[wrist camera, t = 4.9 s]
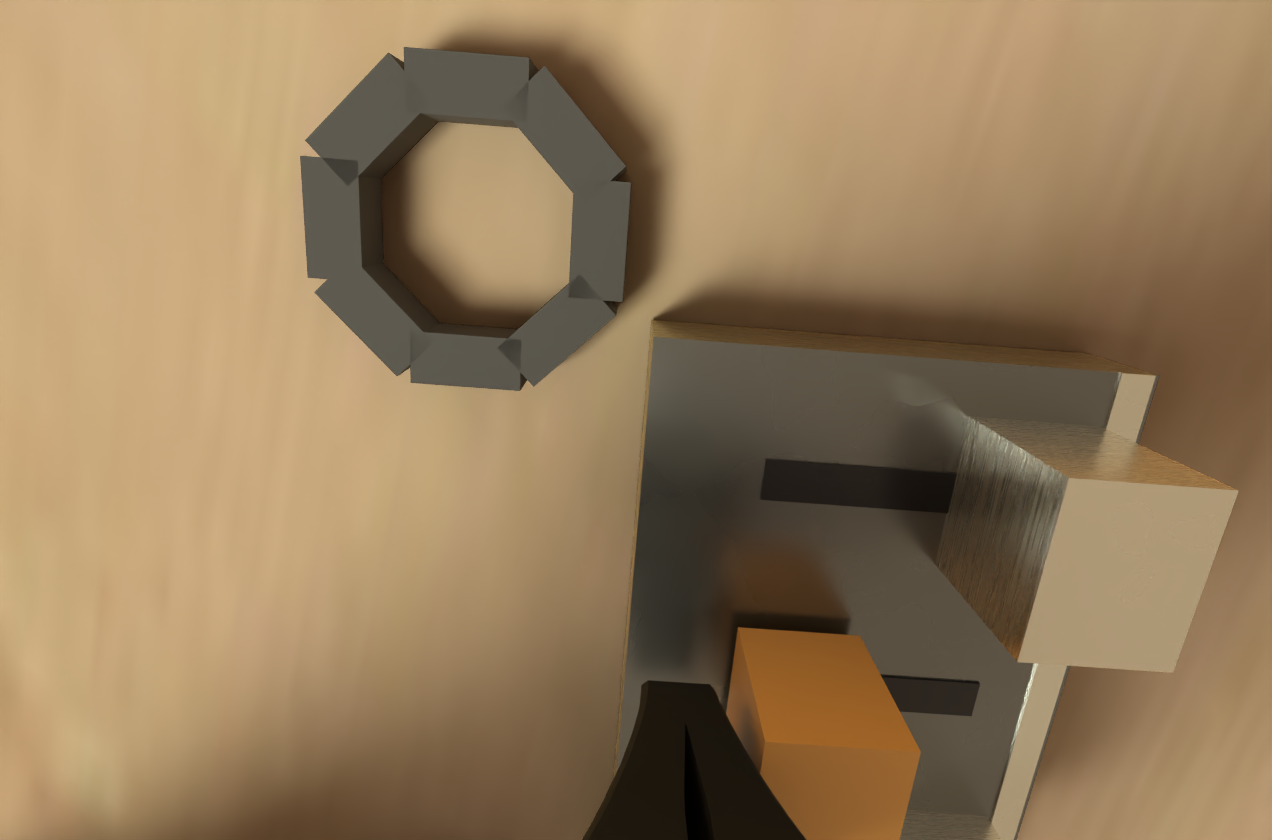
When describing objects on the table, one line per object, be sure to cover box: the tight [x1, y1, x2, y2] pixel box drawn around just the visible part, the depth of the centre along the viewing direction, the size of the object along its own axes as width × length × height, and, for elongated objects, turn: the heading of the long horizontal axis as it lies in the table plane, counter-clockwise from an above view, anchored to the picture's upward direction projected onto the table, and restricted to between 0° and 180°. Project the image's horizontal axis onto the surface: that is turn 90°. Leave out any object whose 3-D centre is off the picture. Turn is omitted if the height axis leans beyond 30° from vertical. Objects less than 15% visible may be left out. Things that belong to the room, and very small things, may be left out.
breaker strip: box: [613, 320, 1239, 840], centre depth 14 cm, size 9×14×5 cm, turn 176°
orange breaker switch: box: [726, 627, 921, 840], centre depth 12 cm, size 2×3×3 cm
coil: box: [300, 47, 631, 391], centre depth 13 cm, size 6×6×1 cm
